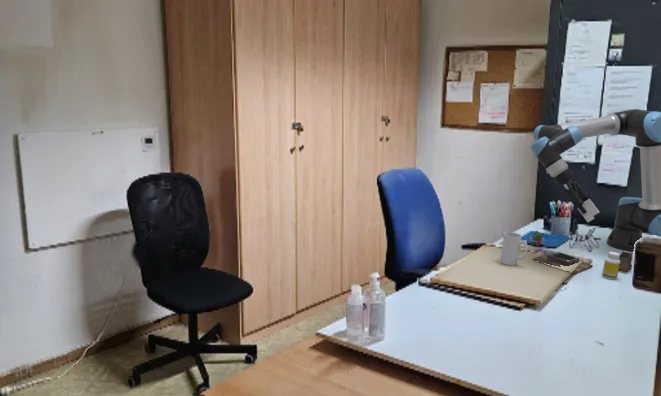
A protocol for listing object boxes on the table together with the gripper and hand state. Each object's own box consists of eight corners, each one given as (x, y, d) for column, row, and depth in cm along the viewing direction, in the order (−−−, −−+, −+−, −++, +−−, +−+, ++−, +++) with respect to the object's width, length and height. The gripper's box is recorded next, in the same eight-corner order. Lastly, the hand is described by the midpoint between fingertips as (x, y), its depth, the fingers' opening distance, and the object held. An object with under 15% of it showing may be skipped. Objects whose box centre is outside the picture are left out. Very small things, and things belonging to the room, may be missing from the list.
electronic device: (632, 268, 235) (635, 250, 233) (626, 274, 227) (630, 256, 225) (620, 265, 237) (623, 248, 235) (614, 270, 230) (618, 253, 228)
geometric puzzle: (548, 245, 249) (547, 228, 253) (532, 244, 249) (531, 227, 253) (542, 250, 256) (541, 234, 259) (527, 249, 256) (526, 232, 259)
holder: (551, 254, 245) (552, 247, 244) (592, 267, 232) (593, 260, 231) (532, 260, 235) (533, 253, 234) (574, 274, 222) (576, 267, 221)
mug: (497, 262, 229) (501, 234, 226) (503, 258, 234) (507, 230, 231) (521, 269, 223) (526, 240, 220) (527, 265, 228) (532, 236, 226)
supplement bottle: (618, 280, 219) (623, 256, 216) (603, 278, 220) (608, 254, 217) (614, 275, 224) (619, 252, 222) (600, 273, 225) (604, 250, 223)
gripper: (558, 174, 238) (590, 216, 234) (545, 181, 217) (579, 228, 213) (574, 163, 234) (607, 206, 230) (562, 170, 213) (597, 217, 209)
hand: (594, 217), depth 221 cm, fingers open, 13 cm apart
